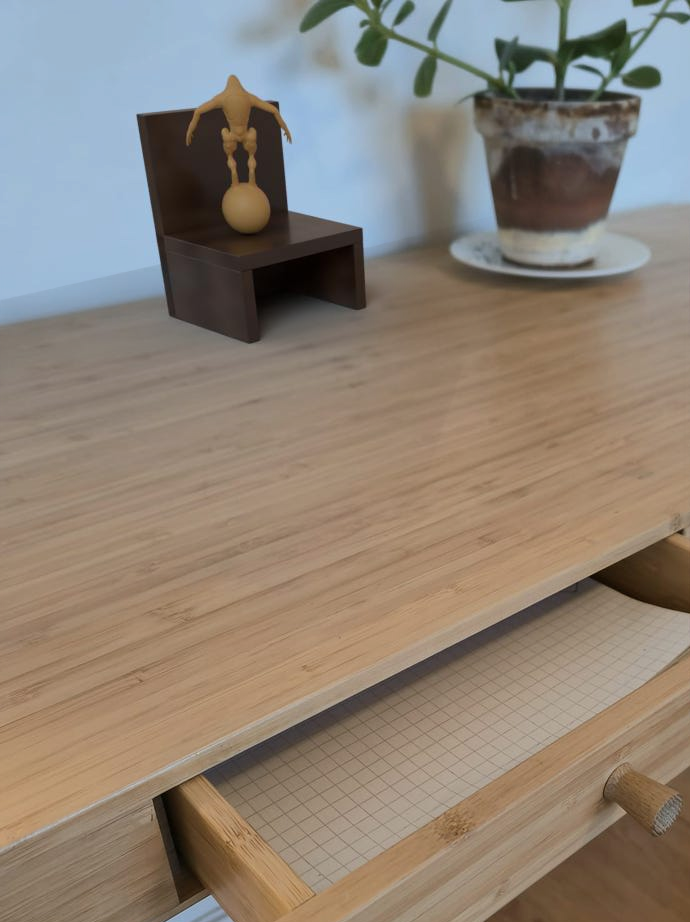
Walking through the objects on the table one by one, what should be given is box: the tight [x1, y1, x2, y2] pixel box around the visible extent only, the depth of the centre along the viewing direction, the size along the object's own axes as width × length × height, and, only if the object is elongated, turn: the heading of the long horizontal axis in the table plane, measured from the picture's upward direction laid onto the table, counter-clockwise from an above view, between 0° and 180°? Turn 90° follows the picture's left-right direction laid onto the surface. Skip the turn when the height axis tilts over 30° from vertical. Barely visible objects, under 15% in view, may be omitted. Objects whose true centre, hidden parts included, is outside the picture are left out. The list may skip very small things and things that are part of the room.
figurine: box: [186, 74, 293, 234], centre depth 78 cm, size 8×6×12 cm
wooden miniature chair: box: [135, 99, 367, 344], centre depth 83 cm, size 11×14×16 cm
